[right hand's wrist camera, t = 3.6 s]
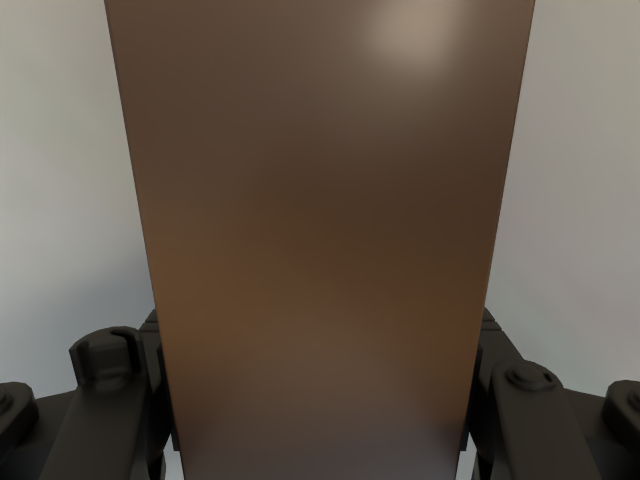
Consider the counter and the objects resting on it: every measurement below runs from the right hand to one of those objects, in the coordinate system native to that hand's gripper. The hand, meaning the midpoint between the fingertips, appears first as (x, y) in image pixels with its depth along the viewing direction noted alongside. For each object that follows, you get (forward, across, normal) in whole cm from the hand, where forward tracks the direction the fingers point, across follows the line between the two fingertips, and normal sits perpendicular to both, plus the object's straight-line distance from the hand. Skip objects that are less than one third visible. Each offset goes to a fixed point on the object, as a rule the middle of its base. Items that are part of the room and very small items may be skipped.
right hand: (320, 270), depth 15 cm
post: (+1, 0, -26) cm, 26 cm away
